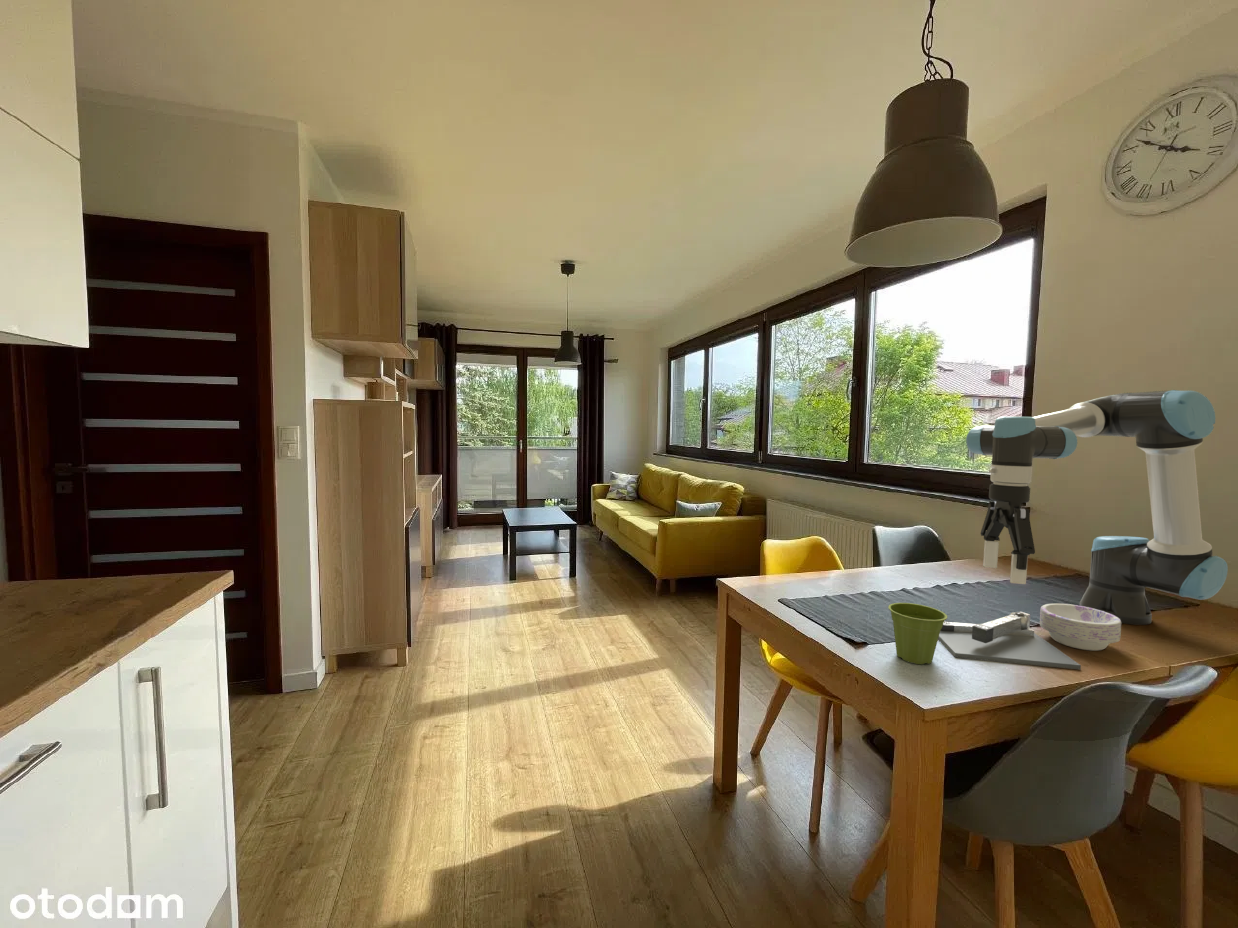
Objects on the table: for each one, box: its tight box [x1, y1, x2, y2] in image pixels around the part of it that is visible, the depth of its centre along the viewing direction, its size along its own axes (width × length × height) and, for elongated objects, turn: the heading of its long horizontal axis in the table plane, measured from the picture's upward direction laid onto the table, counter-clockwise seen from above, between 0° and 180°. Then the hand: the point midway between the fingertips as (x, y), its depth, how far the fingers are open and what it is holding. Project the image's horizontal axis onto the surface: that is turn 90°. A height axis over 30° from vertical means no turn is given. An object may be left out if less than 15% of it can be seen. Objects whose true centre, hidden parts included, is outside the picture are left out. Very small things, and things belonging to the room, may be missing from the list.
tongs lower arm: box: [940, 620, 1035, 637], centre depth 135 cm, size 22×3×2 cm, turn 81°
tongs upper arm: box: [972, 611, 1031, 643], centre depth 130 cm, size 22×4×4 cm, turn 119°
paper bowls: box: [1039, 603, 1122, 651], centre depth 131 cm, size 15×15×8 cm
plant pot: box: [888, 602, 948, 665], centre depth 121 cm, size 12×12×11 cm
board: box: [938, 631, 1082, 670], centre depth 130 cm, size 25×21×1 cm
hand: (1003, 575), depth 122 cm, fingers open, 13 cm apart
